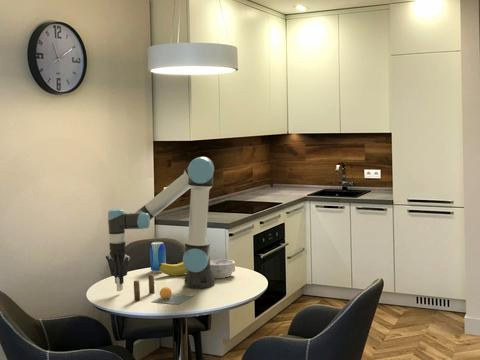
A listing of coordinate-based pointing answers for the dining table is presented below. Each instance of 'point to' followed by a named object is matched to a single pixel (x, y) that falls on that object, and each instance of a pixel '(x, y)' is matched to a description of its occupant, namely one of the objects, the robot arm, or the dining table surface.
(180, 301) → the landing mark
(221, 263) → the paper bowls
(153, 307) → the dining table surface
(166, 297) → the ball
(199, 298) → the dining table surface
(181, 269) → the banana
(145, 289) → the dining table surface
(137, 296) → the post
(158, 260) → the beer can
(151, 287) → the post
